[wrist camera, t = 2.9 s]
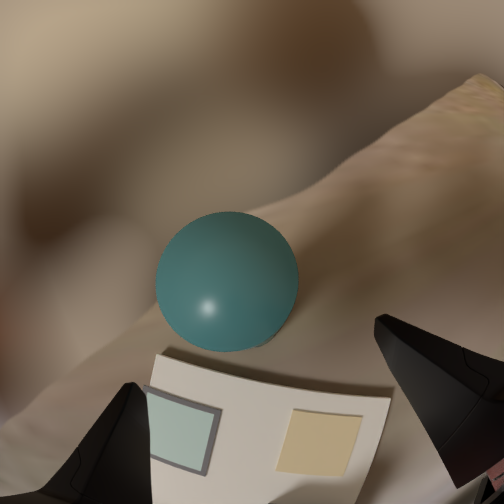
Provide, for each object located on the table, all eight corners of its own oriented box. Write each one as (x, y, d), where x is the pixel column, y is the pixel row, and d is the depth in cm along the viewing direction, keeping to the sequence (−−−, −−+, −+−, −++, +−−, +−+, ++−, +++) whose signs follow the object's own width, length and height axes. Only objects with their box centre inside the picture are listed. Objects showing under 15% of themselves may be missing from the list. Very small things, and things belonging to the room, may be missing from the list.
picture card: (386, 396, 16) (391, 398, 15) (322, 553, 11) (324, 559, 10) (156, 352, 18) (150, 352, 17) (129, 513, 13) (125, 517, 12)
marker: (284, 301, 19) (308, 224, 7) (273, 353, 18) (281, 366, 6) (232, 290, 20) (179, 203, 8) (220, 341, 18) (140, 329, 7)
